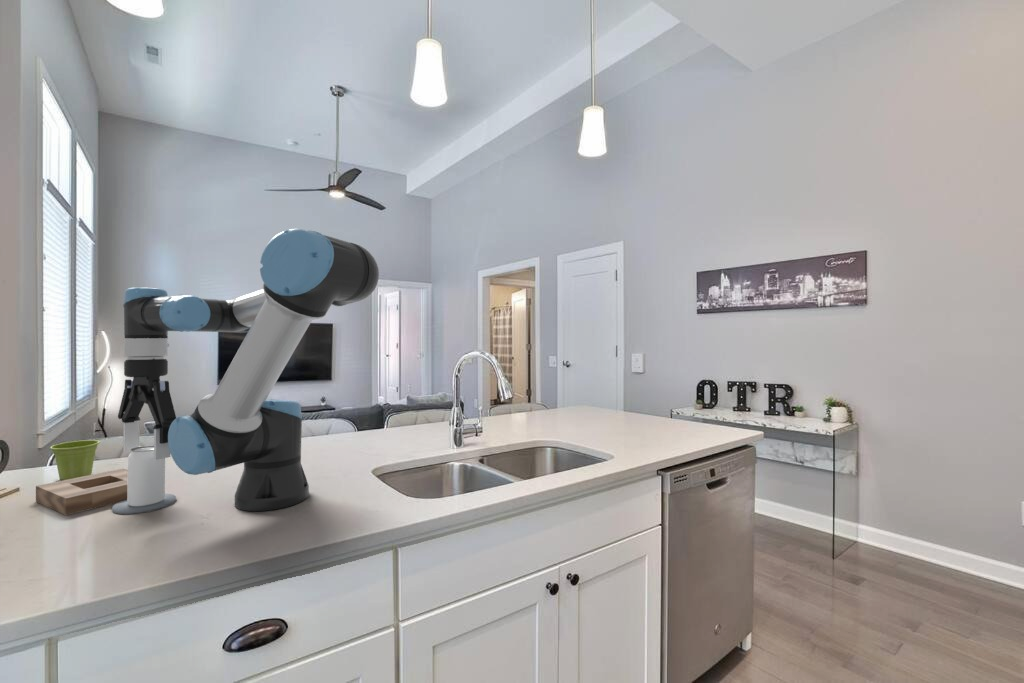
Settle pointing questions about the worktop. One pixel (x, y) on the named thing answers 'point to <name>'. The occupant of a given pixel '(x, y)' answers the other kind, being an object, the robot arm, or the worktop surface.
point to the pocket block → (84, 492)
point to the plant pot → (75, 458)
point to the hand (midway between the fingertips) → (146, 454)
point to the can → (145, 477)
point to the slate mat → (126, 509)
